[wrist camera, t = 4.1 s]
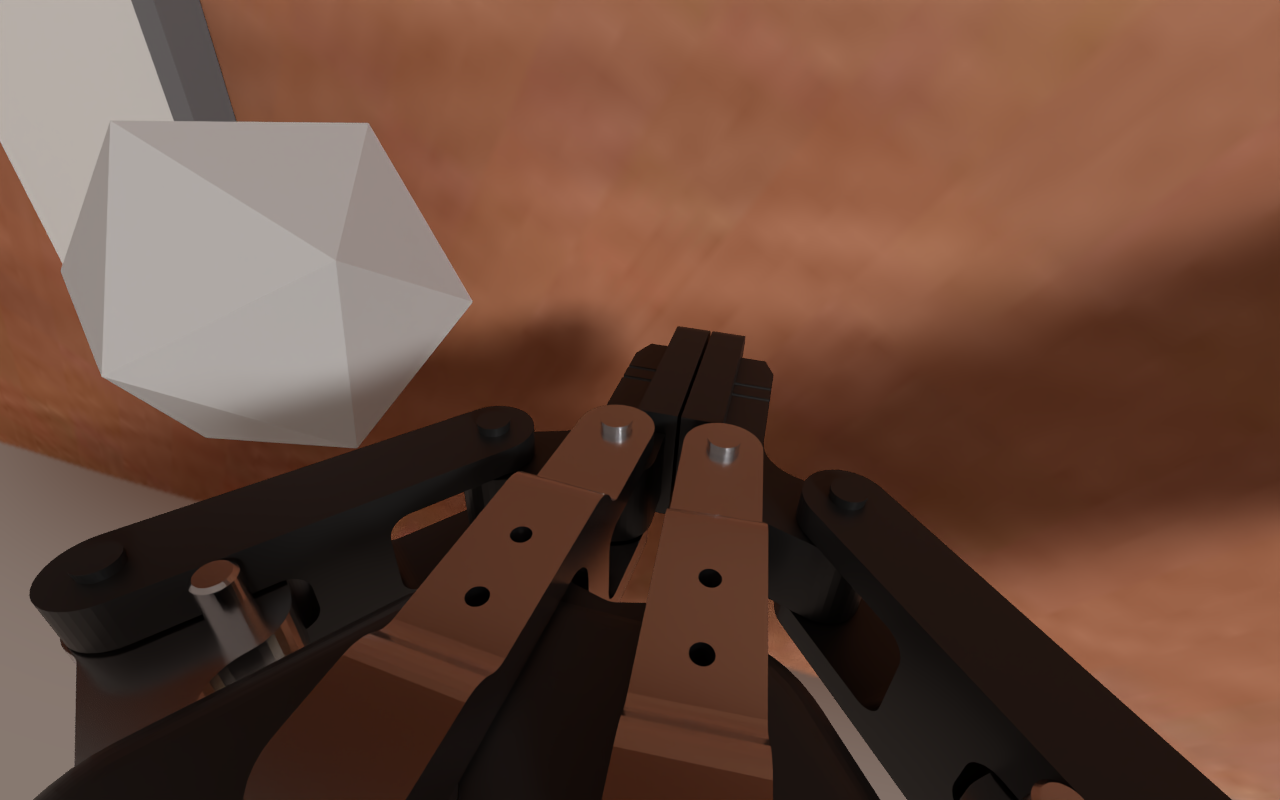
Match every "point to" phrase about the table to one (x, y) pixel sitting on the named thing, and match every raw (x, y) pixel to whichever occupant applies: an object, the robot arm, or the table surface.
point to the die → (258, 277)
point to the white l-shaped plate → (95, 88)
